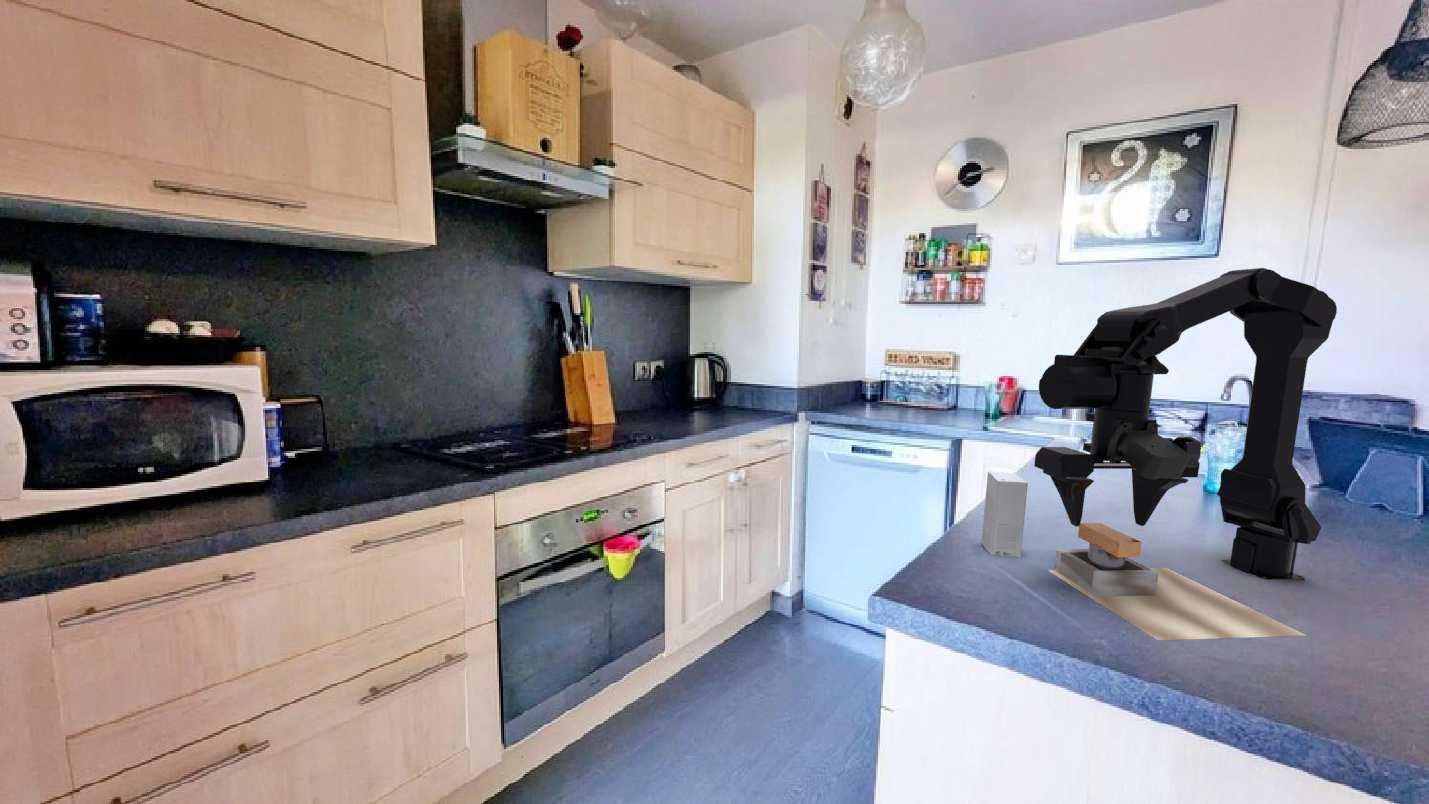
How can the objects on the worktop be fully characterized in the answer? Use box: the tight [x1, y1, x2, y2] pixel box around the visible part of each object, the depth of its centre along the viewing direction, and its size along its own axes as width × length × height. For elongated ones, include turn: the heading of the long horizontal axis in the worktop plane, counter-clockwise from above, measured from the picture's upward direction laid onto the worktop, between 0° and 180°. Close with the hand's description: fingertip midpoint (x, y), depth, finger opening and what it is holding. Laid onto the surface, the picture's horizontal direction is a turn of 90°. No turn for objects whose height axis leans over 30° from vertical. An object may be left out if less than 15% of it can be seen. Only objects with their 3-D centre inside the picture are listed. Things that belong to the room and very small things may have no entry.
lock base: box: [1047, 548, 1307, 642], centre depth 71 cm, size 18×18×4 cm
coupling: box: [1077, 522, 1143, 571], centre depth 76 cm, size 7×4×7 cm, turn 5°
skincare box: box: [981, 471, 1029, 558], centre depth 87 cm, size 6×4×12 cm
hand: (1107, 525), depth 75 cm, fingers open, 9 cm apart
